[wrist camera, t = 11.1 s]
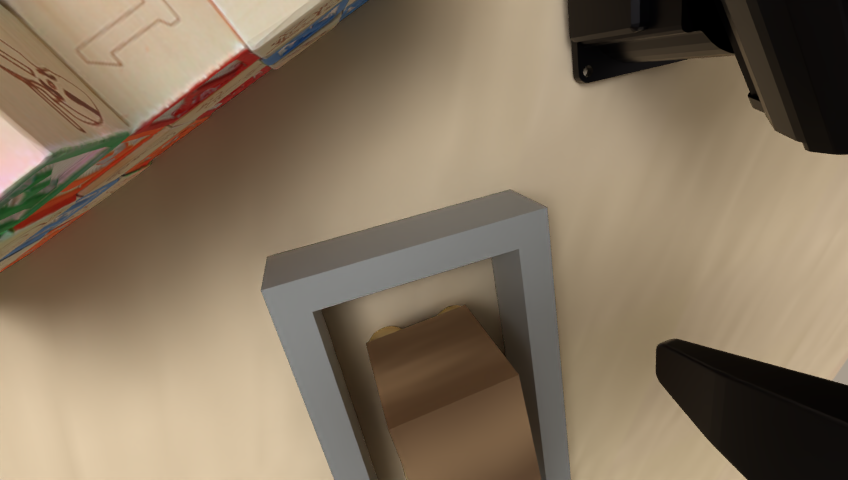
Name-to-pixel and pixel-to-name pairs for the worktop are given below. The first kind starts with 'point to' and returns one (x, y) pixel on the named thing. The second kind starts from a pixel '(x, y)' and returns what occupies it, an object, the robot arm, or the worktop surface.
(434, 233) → the frame
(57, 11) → the stack of blocks
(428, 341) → the board
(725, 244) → the worktop surface
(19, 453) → the worktop surface
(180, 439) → the worktop surface
